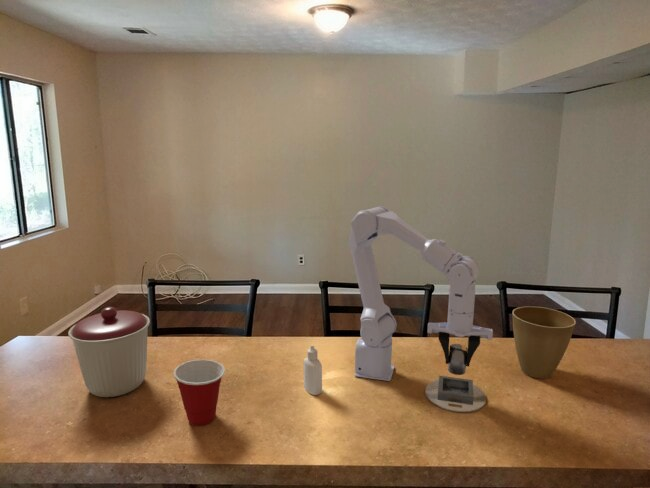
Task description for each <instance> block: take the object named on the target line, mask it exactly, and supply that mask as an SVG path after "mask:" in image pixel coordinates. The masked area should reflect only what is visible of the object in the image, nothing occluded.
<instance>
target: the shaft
mask: <svg viewBox="0 0 650 488" xmlns="http://www.w3.org/2000/svg"><path fill="white" fill-rule="evenodd" d="M467 350H468V346H466V344H460V343H452V344H449V364H447V367H448V368H447V370H448V372H449V373H450V374H452V375H456V376H462V375H464V374H466V368H467V366H466V359H467Z"/></svg>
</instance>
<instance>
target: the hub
mask: <svg viewBox="0 0 650 488" xmlns="http://www.w3.org/2000/svg"><path fill="white" fill-rule="evenodd" d="M473 382H474V380H473V379H467V378H461V377H460V378H459V377H455V376H454V377H453V376H452V377H451V376H445V375H439V376H438V379H435V380H433V381H431V382H429V383H428V384H427V385H426V387H425V396H426V398H427V400H428V401H429V402H431V404H433V405H435V406H436V407H438V408H441V409H443V410H446V411H448V412H449V411H450V412H454V413H471V412H472V413H473V412H476V411H478V410H481V409H483V407H484V406H485V404H486V401H487V398H486V394H485V392H484V391H483V390H482V389H481V388H480V387H478V386H477V385H475V384H474V383H473Z"/></svg>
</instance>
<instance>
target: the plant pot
mask: <svg viewBox="0 0 650 488" xmlns="http://www.w3.org/2000/svg"><path fill="white" fill-rule="evenodd" d="M511 314H512V331H513V339H514V345H515V350H516V355H517V359H518V363H519V366H520V370H521V371H522V372H523V374H525V375H526V376H529V377H531V378H534V379H541V380H543V379H549V378H551V377H552V376H553V374H554V373H555V372H556V370H557V368H558V366H559V364H560V363H561V361H562V360H563V356H564V355H565V353H566V351H567V349H568V346H569V344H570V341H571V340H572V339H571V338H572V337H573V336H572V335H573V333H574V330H575V327H576V324H577V323H576V319H575V318H574V317H572V316H571V315H569V314H568V313H565V312H564V311H563V312H562V311H561V310H560V311H559V310H558V309H553V308H550V307H549V308H548V307H543V306H519V307H516V308H514V309H513V310H512V313H511Z"/></svg>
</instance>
